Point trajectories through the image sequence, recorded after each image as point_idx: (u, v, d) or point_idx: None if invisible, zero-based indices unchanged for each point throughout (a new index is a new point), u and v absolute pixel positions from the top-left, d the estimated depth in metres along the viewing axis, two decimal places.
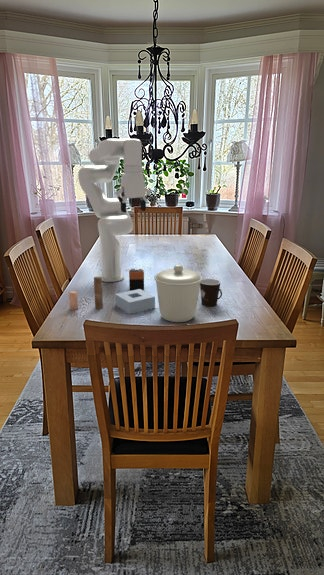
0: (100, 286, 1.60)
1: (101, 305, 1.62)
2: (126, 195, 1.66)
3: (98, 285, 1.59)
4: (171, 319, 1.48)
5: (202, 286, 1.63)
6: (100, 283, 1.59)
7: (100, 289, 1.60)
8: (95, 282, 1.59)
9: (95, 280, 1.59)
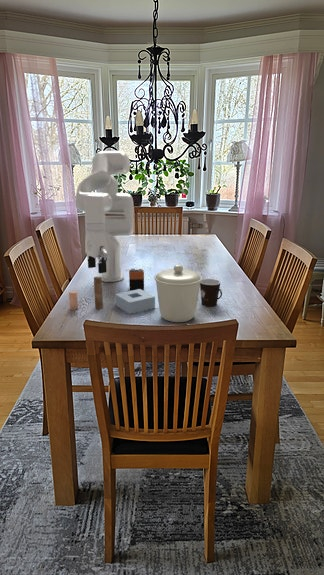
0: (100, 286, 1.60)
1: (101, 305, 1.62)
2: None
3: (98, 285, 1.59)
4: (171, 319, 1.48)
5: (202, 286, 1.63)
6: (100, 283, 1.59)
7: (100, 289, 1.60)
8: (95, 282, 1.59)
9: (95, 280, 1.59)
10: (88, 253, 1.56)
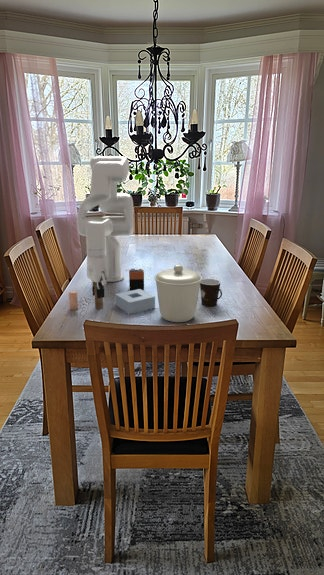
0: None
1: (101, 305, 1.62)
2: (106, 278, 1.57)
3: None
4: (171, 319, 1.48)
5: (202, 286, 1.63)
6: (100, 283, 1.59)
7: None
8: (95, 282, 1.59)
9: None
10: (89, 277, 1.59)
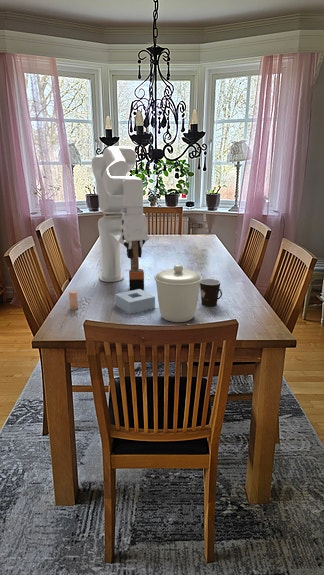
0: None
1: None
2: None
3: None
4: (171, 319, 1.48)
5: (202, 286, 1.63)
6: None
7: None
8: (137, 242, 1.55)
9: None
10: (134, 239, 1.53)
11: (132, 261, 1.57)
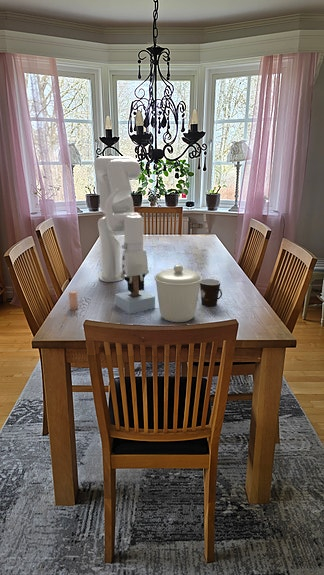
0: None
1: None
2: None
3: None
4: (171, 319, 1.48)
5: (202, 286, 1.63)
6: None
7: None
8: (137, 276, 1.60)
9: None
10: (134, 274, 1.57)
11: (133, 294, 1.62)
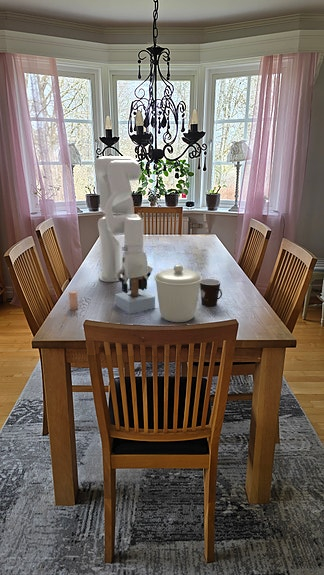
0: None
1: None
2: None
3: None
4: (171, 319, 1.48)
5: (202, 286, 1.63)
6: None
7: None
8: (137, 281, 1.61)
9: (137, 279, 1.61)
10: (134, 276, 1.58)
11: None
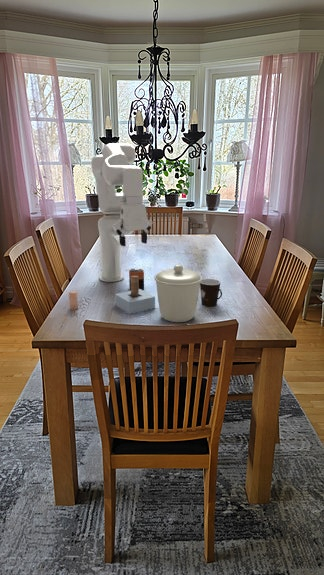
0: None
1: None
2: None
3: None
4: (171, 319, 1.48)
5: (202, 286, 1.63)
6: None
7: None
8: (137, 281, 1.61)
9: (137, 279, 1.61)
10: (133, 229, 1.52)
11: None
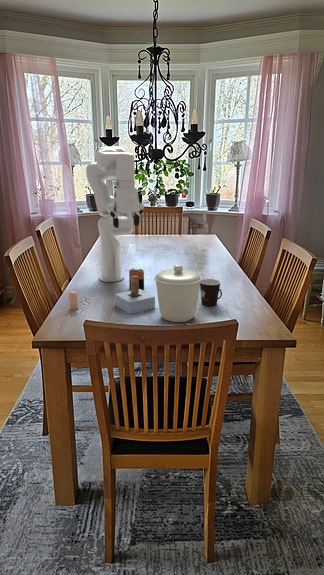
0: None
1: None
2: None
3: None
4: (171, 319, 1.48)
5: (202, 286, 1.63)
6: None
7: None
8: (137, 281, 1.61)
9: (137, 279, 1.61)
10: (126, 211, 1.63)
11: None
